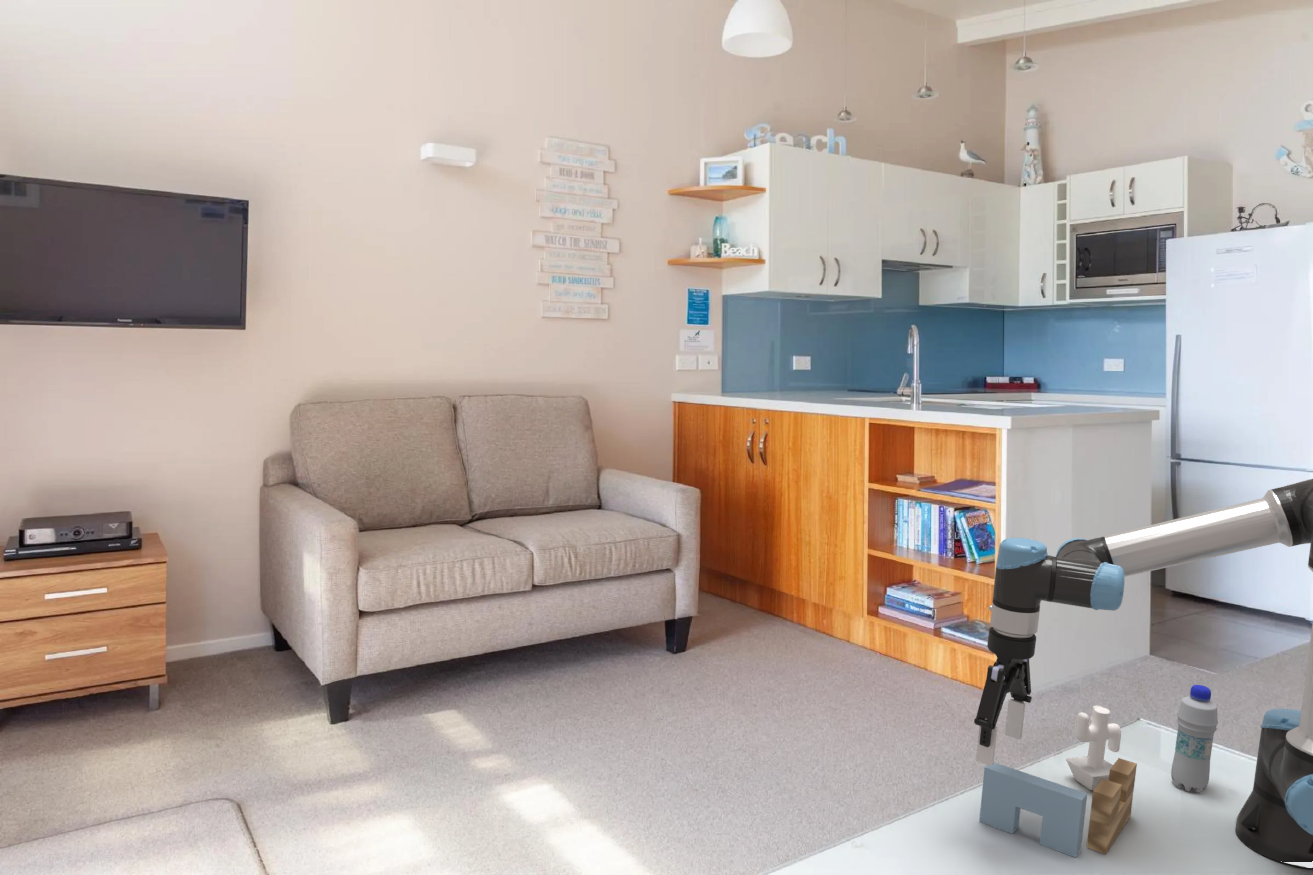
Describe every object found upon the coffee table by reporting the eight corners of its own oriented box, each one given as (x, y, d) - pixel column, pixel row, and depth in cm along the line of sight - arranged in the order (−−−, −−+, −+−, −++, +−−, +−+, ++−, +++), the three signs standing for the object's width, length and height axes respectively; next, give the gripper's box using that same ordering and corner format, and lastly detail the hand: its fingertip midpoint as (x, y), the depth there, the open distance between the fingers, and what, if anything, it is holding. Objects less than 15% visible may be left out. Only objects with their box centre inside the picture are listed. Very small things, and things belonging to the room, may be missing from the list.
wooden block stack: (1130, 816, 173) (1136, 763, 171) (1105, 854, 161) (1112, 797, 159) (1112, 810, 175) (1118, 757, 173) (1086, 847, 162) (1093, 790, 161)
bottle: (1207, 798, 180) (1221, 696, 177) (1166, 787, 184) (1179, 686, 181) (1209, 784, 186) (1223, 684, 183) (1170, 773, 190) (1183, 675, 187)
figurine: (1127, 790, 182) (1136, 714, 180) (1085, 796, 180) (1094, 718, 177) (1099, 771, 189) (1107, 698, 187) (1058, 777, 186) (1067, 702, 184)
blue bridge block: (1080, 849, 162) (1087, 793, 160) (1075, 857, 159) (1081, 800, 158) (985, 814, 171) (990, 761, 170) (979, 821, 169) (984, 767, 168)
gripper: (1016, 608, 176) (1003, 719, 179) (962, 642, 157) (949, 766, 160) (1058, 619, 171) (1044, 732, 175) (1009, 655, 152) (994, 782, 155)
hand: (999, 749), depth 167 cm, fingers open, 13 cm apart
